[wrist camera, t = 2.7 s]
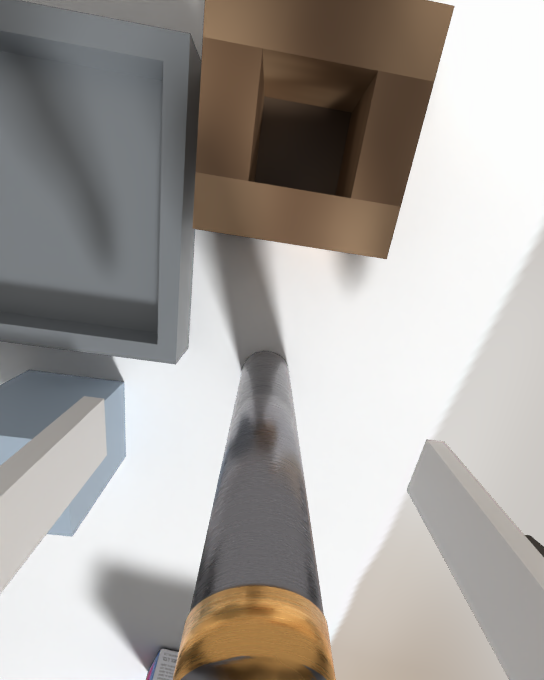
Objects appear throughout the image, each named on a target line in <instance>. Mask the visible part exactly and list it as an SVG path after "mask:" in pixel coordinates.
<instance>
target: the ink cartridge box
mask: <svg viewBox="0 0 544 680" xmlns="http://www.w3.org/2000/svg"><path fill="white" fill-rule="evenodd" d="M178 653H179V652H176V651H171V650H167V649H160V651H159V653H158V654H157V656H156V658H155V660H154V662H153V664H152V665H151V667H150V669H149V671H148V673H147V677H146V680H173V676H174V671H175V667H176V662H177V658H178Z"/></svg>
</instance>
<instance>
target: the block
mask: <svg viewBox="0 0 544 680" xmlns="http://www.w3.org/2000/svg"><path fill="white" fill-rule="evenodd" d="M84 396H88V397H96V398H104V406H105V426H106V447H107V456H106V457H105V458H104V460H103V461H102V462H101V464H100V465H99V466H98V467H97V469H96V470H95V471H94V473H93V474H92V475H91V477H90V478H89V479H88V480H87V482H86V483H85V484H84V486H83V487H82V488H81V490H80V491H79V492H78V494H77V495H76V496H75V497H74V499H73V500H72V501H71V503H70V504H69V505H68V507H67V508H66V509H65V510H64V512H63V513H62V514H61V516H60V517H59V518H58V520H57V521H56V522H55V524H54V525H53V526H52V527H51V529H50V530H49V531H48V533H47V534H52V535H62V536H73V535H74V533H75V532H76V530H77V529H78V527H79V526H80V524H81V523H82V521H83V520H84V518H85V517H86V515H87V514H88V512H89V511H90V509H91V508H92V506H93V505H94V503H95V502H96V500H97V499H98V497H99V496H100V494H101V493H102V491H103V490H104V488H105V487H106V485H107V484H108V482H109V481H110V479H111V478H112V476H113V475H114V473H115V472H116V470H117V469H118V467H119V466H120V464H121V463H122V461H123V460H124V458H125V457H126V443H125V398H124V382H120V381H112V380H104V379H96V378H88V377H80V376H72V375H64V374H56V373H48V372H40V371H32V370H28V371H26V372H24V373H22V374H20V375H19V376H17V377H15V378H13V379H11V380H9V381H7V382H6V383H4V384H2V385H0V466H1V465H2V464H3V463H4V462H5V461H7V460H8V459H9V458H10V457H11V456H13V455H14V454H15V453H16V452H17V451H19V450H20V449H21V448H22V447H23V446H25V445H26V444H27V443H28V442H29V441H31V440H32V439H33V438H34V437H35V436H37V435H38V434H39V433H40V432H42V431H43V430H44V429H45V428H46V427H48V426H49V425H50V424H51V423H52V422H54V421H55V420H56V419H57V418H58V417H60V416H61V415H62V414H63V413H64V412H66V411H67V410H68V409H69V408H70V407H72V406H73V405H74V404H75V403H76V402H78V401H79V400H80V399H81V398H82V397H84Z"/></svg>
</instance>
